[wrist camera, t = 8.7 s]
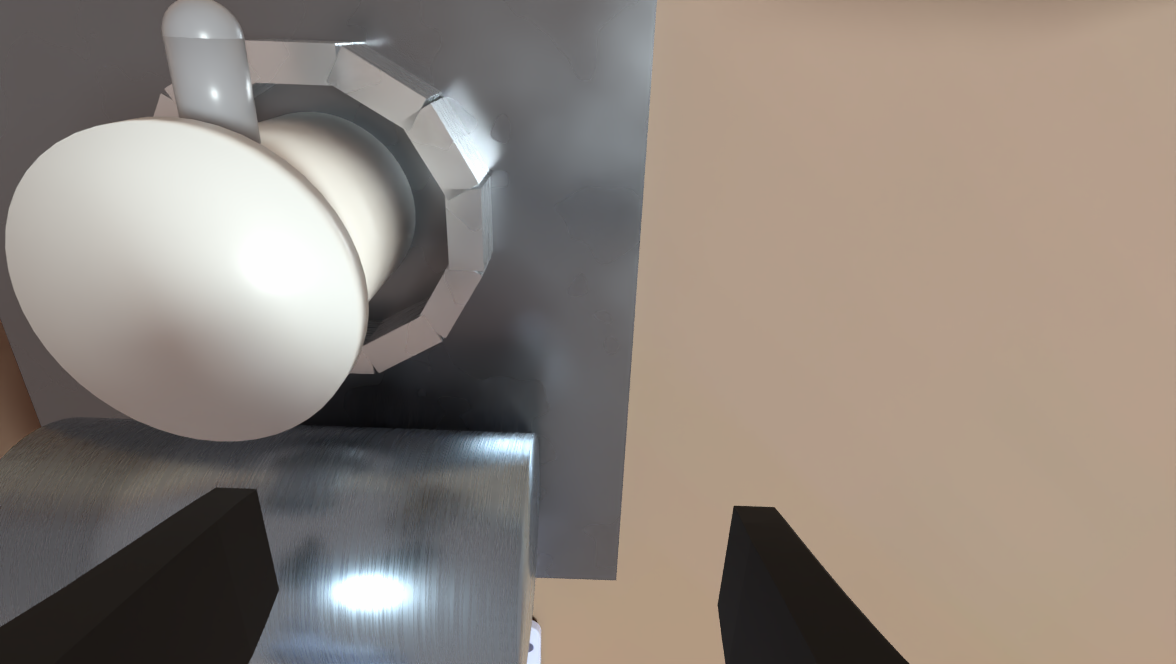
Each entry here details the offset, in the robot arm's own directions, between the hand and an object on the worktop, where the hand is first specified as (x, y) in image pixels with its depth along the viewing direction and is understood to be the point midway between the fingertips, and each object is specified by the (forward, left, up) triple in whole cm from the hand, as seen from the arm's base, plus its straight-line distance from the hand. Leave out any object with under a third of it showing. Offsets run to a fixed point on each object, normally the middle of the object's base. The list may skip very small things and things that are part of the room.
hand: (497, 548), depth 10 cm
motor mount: (0, +6, -9) cm, 11 cm away
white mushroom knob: (+3, +5, -8) cm, 10 cm away
